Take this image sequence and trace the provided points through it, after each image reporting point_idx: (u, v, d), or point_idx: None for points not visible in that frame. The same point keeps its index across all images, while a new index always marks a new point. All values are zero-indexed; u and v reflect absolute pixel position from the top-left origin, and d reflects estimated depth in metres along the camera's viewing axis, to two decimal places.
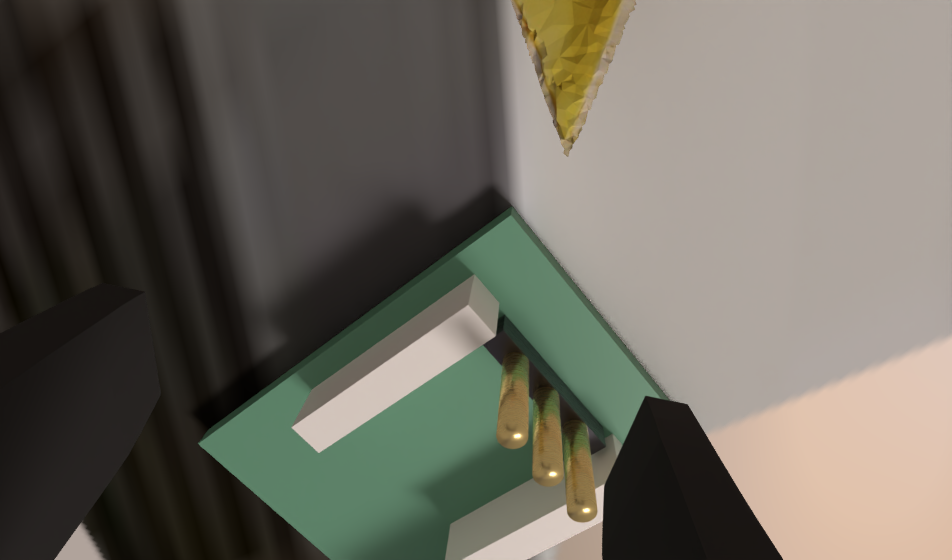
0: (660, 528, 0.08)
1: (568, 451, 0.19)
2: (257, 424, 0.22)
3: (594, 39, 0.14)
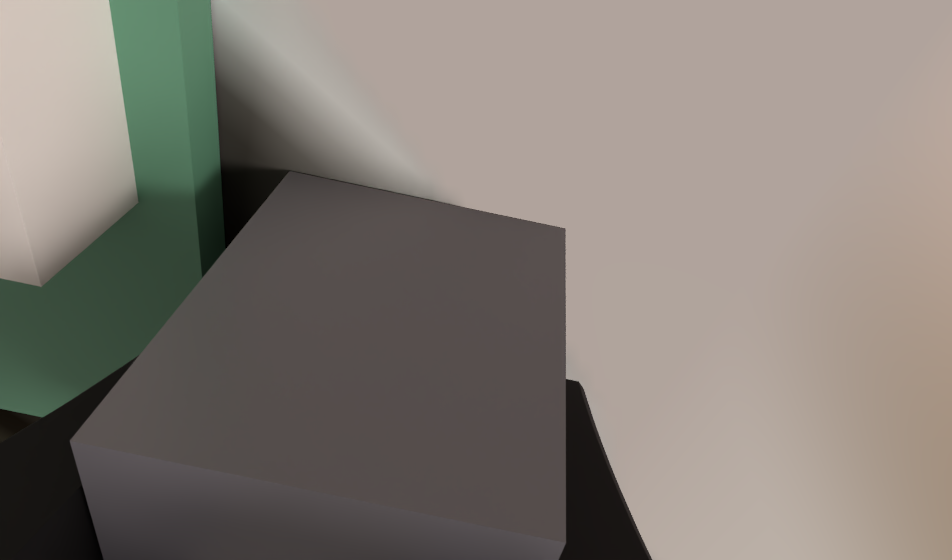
0: None
1: None
2: None
3: None
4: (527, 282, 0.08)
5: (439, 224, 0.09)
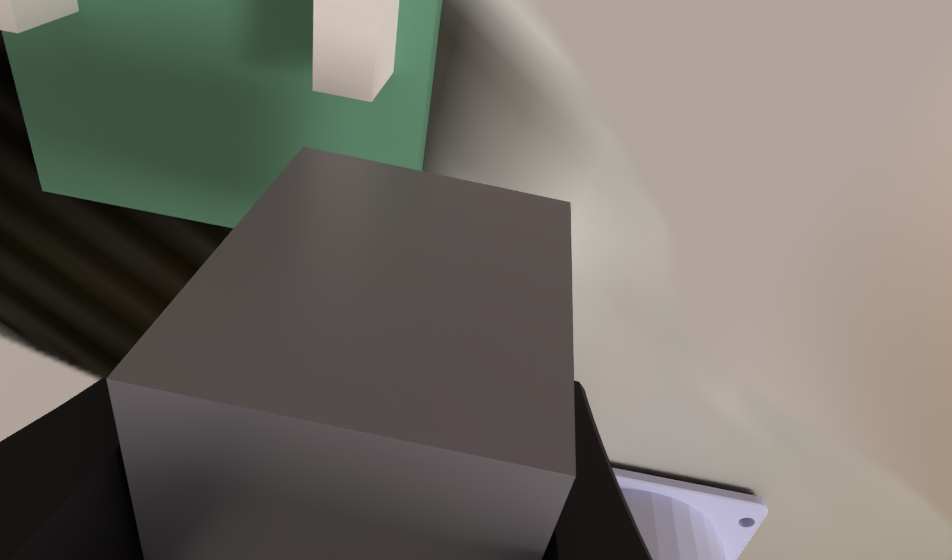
0: None
1: None
2: (47, 110, 0.16)
3: None
4: (534, 249, 0.08)
5: (449, 196, 0.09)
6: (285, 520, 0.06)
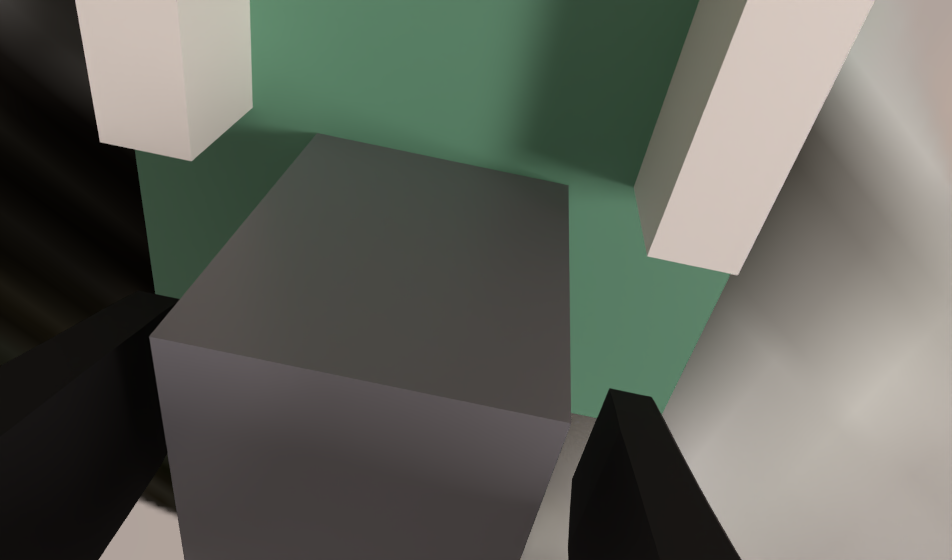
0: (618, 520, 0.08)
1: None
2: (183, 232, 0.11)
3: None
4: (534, 227, 0.09)
5: (454, 179, 0.10)
6: (308, 469, 0.07)
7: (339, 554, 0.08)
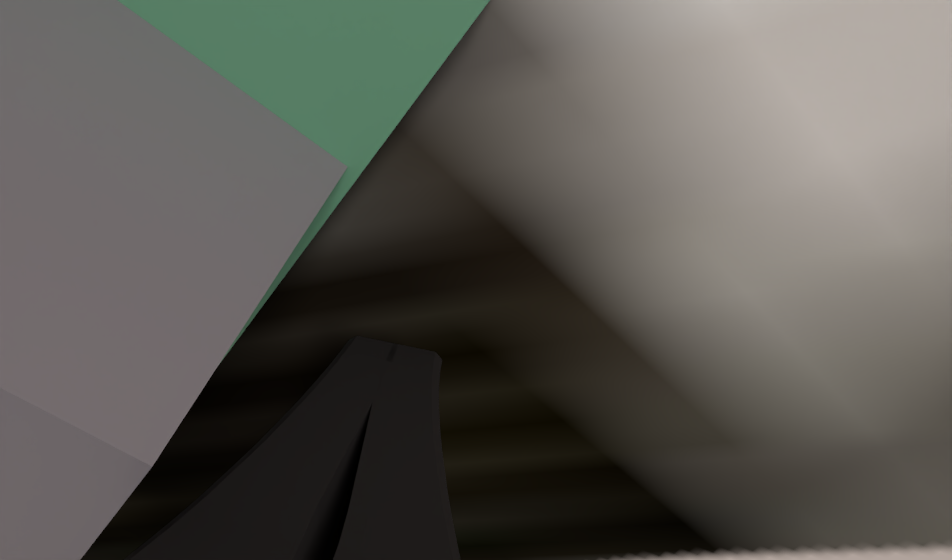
0: None
1: None
2: None
3: None
4: None
5: None
6: None
7: None
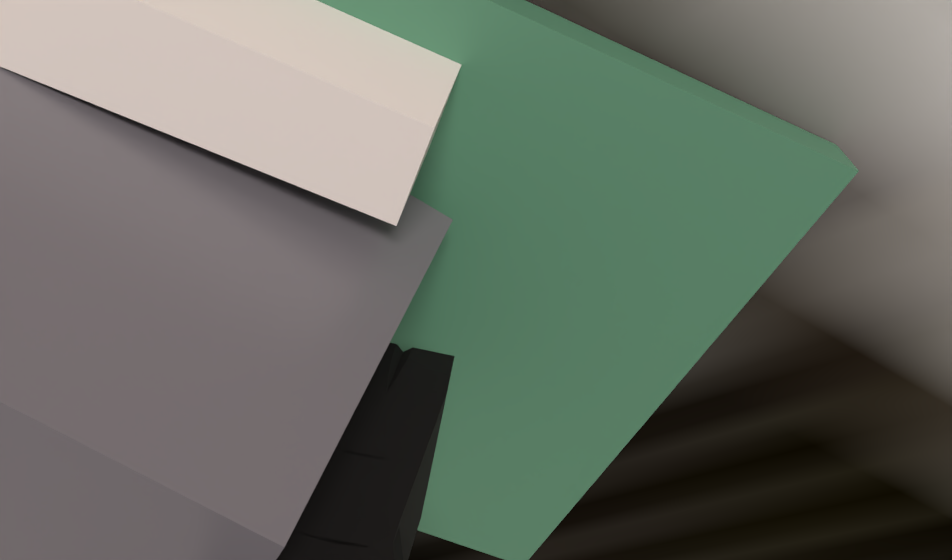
0: None
1: None
2: (427, 511, 0.13)
3: None
4: None
5: None
6: None
7: None
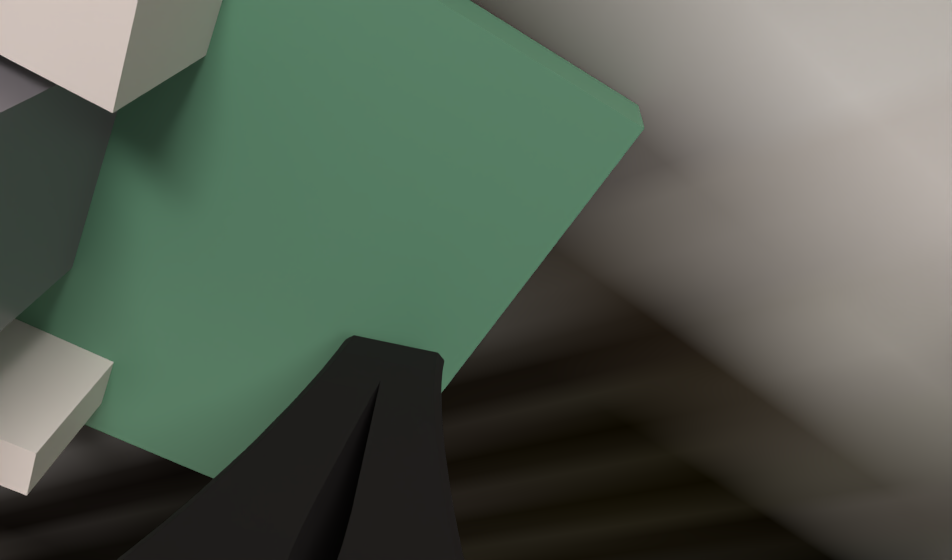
0: None
1: None
2: None
3: None
4: None
5: None
6: None
7: None
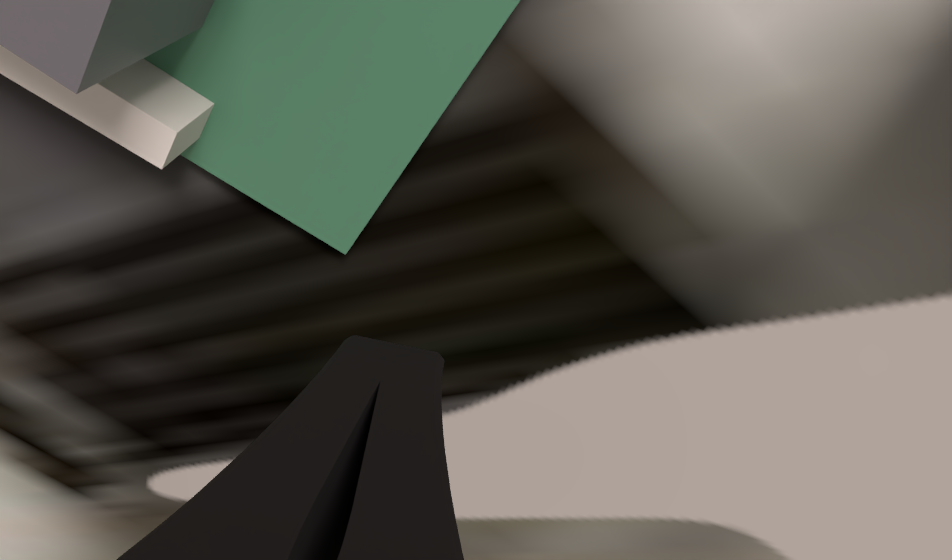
0: None
1: None
2: (282, 193, 0.18)
3: None
4: None
5: None
6: None
7: None
